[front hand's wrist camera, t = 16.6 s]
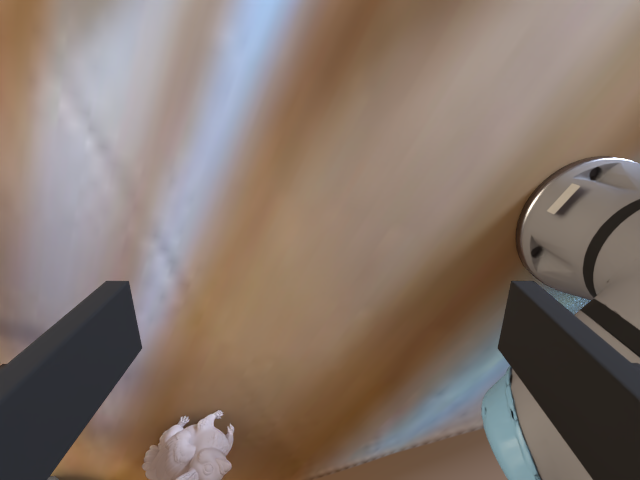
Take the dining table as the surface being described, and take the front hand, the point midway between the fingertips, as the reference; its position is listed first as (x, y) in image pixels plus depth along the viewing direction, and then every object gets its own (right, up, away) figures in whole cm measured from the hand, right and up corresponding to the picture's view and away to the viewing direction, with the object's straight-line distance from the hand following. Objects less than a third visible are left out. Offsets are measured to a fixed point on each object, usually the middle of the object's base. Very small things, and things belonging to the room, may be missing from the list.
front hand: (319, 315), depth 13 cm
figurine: (-17, -24, +39) cm, 49 cm away
